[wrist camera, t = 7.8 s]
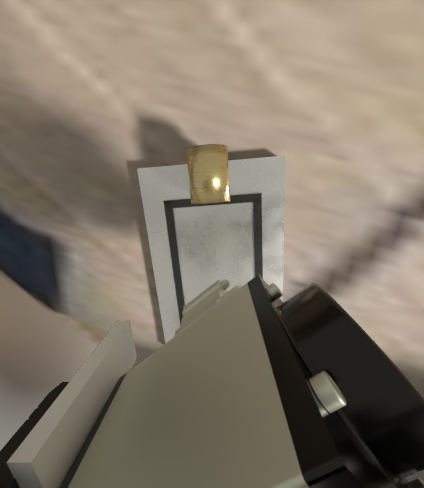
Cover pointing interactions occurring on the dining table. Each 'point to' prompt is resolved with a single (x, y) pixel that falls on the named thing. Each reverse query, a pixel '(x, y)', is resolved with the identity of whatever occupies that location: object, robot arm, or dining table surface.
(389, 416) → the pneumatic valve
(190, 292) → the plate
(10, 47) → the dining table surface
